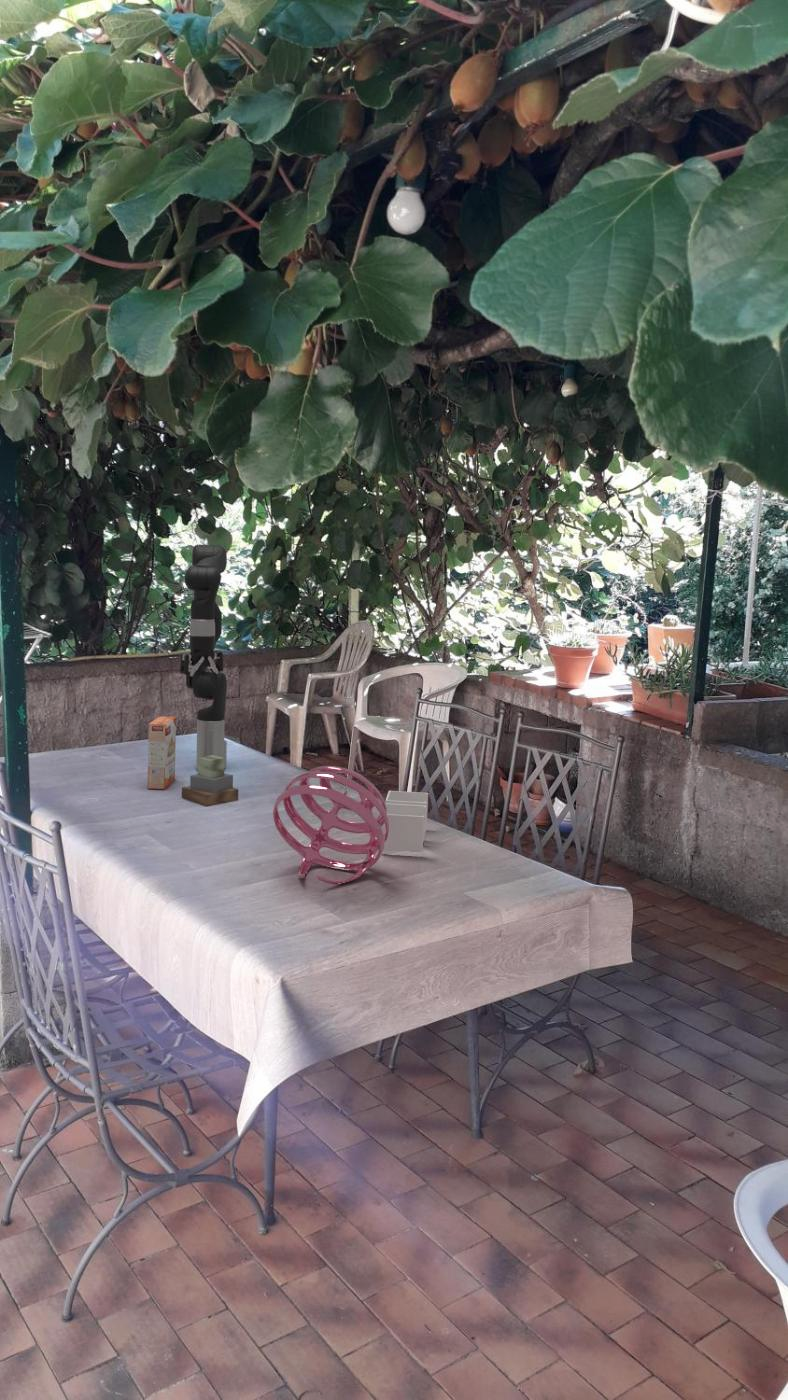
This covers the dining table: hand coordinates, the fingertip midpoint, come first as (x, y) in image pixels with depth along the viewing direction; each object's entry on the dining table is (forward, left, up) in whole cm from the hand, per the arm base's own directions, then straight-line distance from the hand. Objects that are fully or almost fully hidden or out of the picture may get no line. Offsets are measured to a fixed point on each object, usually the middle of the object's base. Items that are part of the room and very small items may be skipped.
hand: (201, 687), depth 316 cm
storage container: (-11, +75, -34) cm, 83 cm away
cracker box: (+3, -16, -33) cm, 37 cm away
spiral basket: (+22, +82, -33) cm, 91 cm away
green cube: (+2, +8, -26) cm, 27 cm away
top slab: (+2, +8, -30) cm, 31 cm away
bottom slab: (+2, +8, -34) cm, 35 cm away
